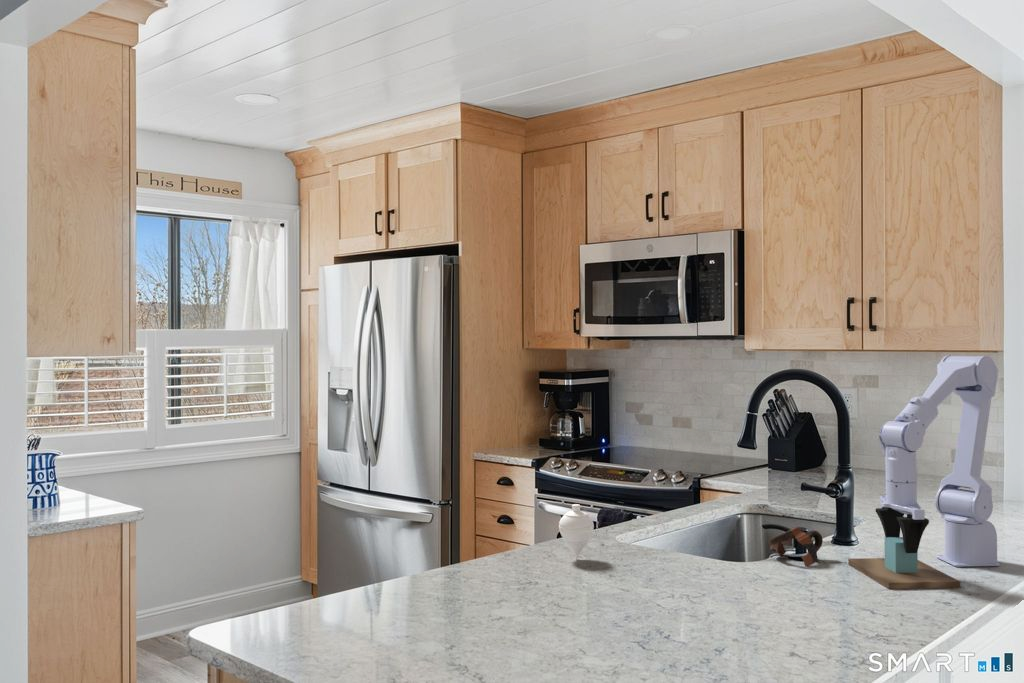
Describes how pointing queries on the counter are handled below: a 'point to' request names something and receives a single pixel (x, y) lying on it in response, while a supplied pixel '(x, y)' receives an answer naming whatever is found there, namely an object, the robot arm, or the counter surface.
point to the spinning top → (576, 529)
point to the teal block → (899, 556)
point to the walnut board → (904, 575)
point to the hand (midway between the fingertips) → (901, 548)
